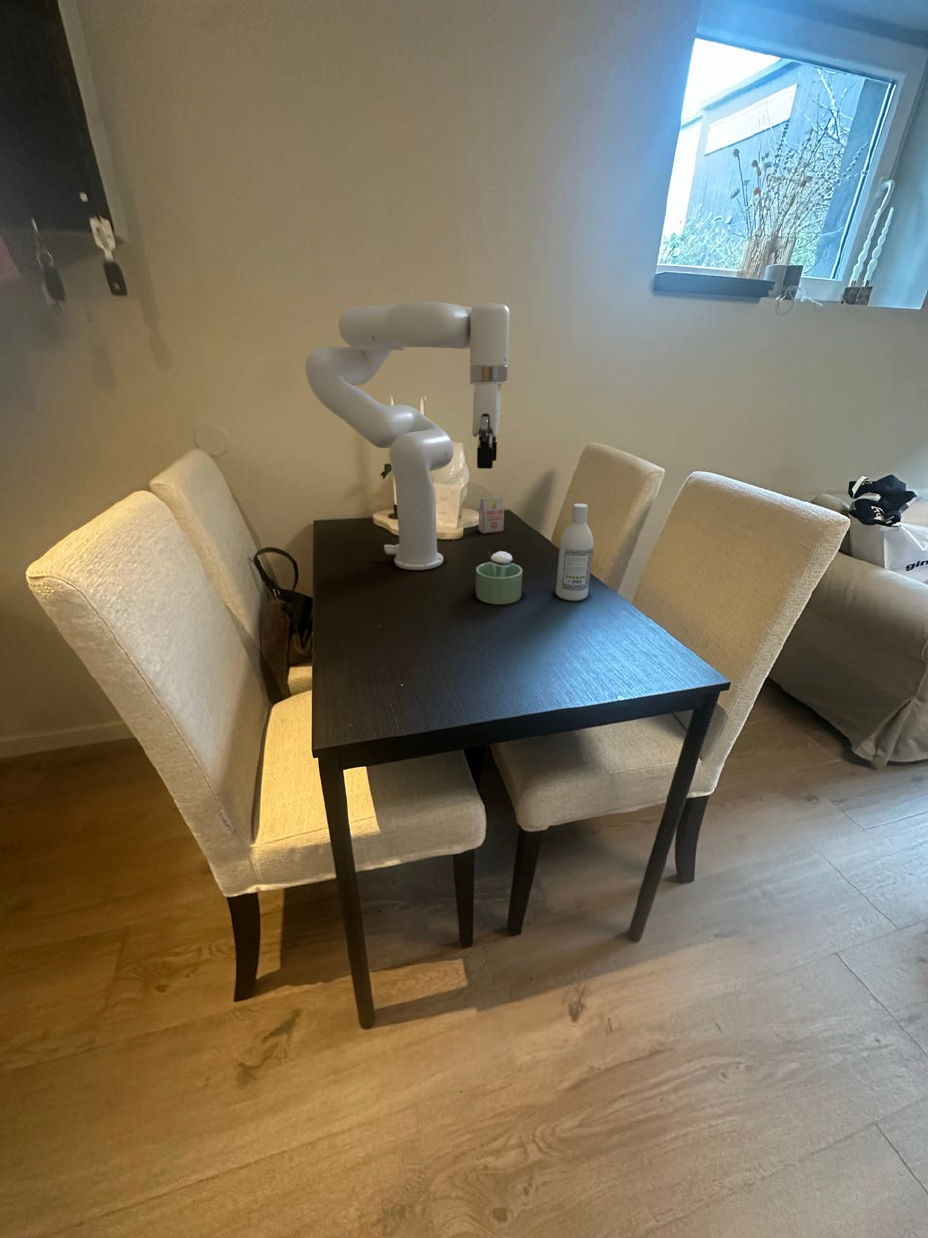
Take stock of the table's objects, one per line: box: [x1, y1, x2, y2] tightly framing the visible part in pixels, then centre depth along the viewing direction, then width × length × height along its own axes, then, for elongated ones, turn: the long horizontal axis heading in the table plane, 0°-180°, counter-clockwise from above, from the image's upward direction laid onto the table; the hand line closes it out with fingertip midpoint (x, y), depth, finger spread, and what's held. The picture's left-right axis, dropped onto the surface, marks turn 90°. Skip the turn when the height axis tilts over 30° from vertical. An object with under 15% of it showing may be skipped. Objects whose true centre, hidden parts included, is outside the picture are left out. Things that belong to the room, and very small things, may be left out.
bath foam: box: [555, 503, 595, 602], centre depth 105 cm, size 7×7×20 cm
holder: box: [475, 561, 524, 605], centre depth 109 cm, size 10×10×6 cm
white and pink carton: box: [478, 496, 505, 534], centre depth 151 cm, size 4×7×10 cm, turn 109°
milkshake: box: [487, 550, 513, 577], centre depth 108 cm, size 4×5×10 cm
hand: (487, 464), depth 108 cm, fingers open, 9 cm apart
